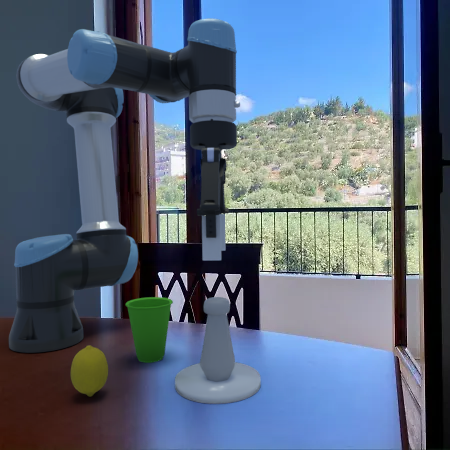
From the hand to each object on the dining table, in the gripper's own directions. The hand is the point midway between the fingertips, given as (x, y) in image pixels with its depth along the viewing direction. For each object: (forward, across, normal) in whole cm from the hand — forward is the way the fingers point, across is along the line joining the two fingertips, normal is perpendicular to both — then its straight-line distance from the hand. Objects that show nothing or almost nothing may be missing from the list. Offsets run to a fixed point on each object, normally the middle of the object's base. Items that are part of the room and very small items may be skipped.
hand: (215, 255), depth 68 cm
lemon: (+22, -5, +19) cm, 29 cm away
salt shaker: (+20, 0, 0) cm, 20 cm away
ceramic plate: (+21, 0, 0) cm, 21 cm away
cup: (+22, +12, +14) cm, 28 cm away
